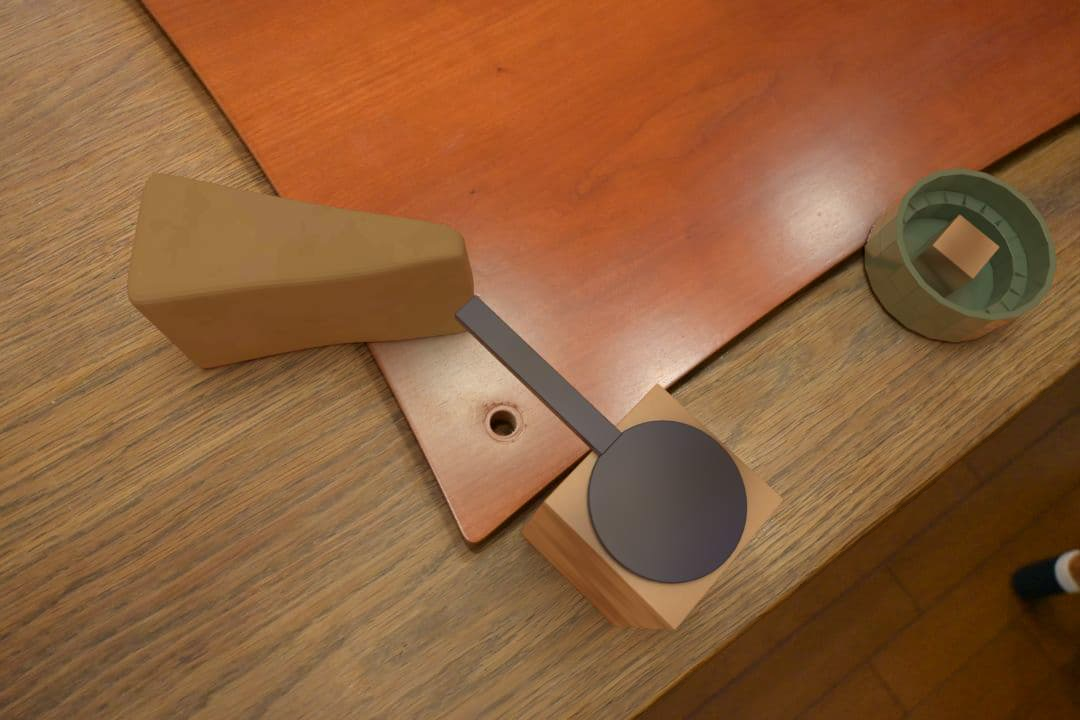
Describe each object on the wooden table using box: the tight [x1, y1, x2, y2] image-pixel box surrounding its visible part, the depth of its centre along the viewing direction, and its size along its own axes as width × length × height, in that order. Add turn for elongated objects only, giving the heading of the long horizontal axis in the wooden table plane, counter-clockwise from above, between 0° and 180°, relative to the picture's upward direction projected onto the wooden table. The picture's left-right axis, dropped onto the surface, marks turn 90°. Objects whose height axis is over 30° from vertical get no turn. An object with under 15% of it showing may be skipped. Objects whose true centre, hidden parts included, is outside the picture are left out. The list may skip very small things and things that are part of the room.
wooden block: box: [911, 215, 999, 298], centre depth 70 cm, size 4×4×4 cm
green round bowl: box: [864, 167, 1058, 343], centre depth 69 cm, size 14×14×6 cm
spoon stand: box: [455, 294, 785, 631], centre depth 54 cm, size 21×10×19 cm, turn 47°
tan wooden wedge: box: [126, 172, 475, 369], centre depth 58 cm, size 22×10×15 cm, turn 91°
